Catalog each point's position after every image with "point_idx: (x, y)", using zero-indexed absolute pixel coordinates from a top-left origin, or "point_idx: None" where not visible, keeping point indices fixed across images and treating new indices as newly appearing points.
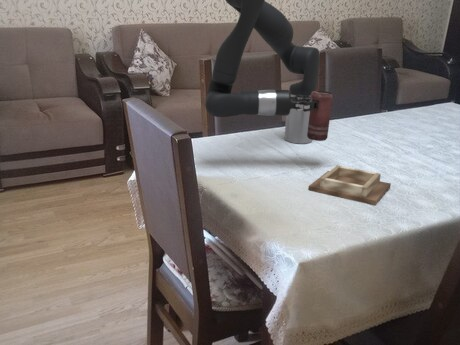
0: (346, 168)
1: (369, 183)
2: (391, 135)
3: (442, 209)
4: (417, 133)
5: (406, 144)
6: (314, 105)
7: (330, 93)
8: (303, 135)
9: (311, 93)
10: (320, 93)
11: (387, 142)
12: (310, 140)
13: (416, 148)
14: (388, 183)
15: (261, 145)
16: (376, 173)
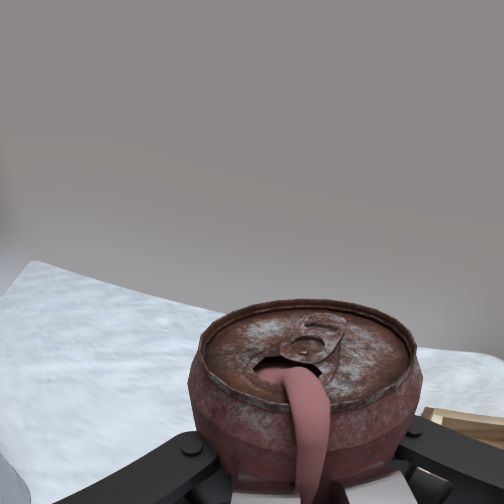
0: (429, 473)
1: (501, 419)
2: (81, 337)
3: (473, 361)
4: (95, 311)
5: (139, 339)
6: (408, 477)
7: (276, 308)
8: (11, 497)
9: (315, 444)
10: (297, 359)
11: (113, 356)
12: (24, 485)
13: (167, 336)
14: (427, 409)
15: None
16: (437, 414)
